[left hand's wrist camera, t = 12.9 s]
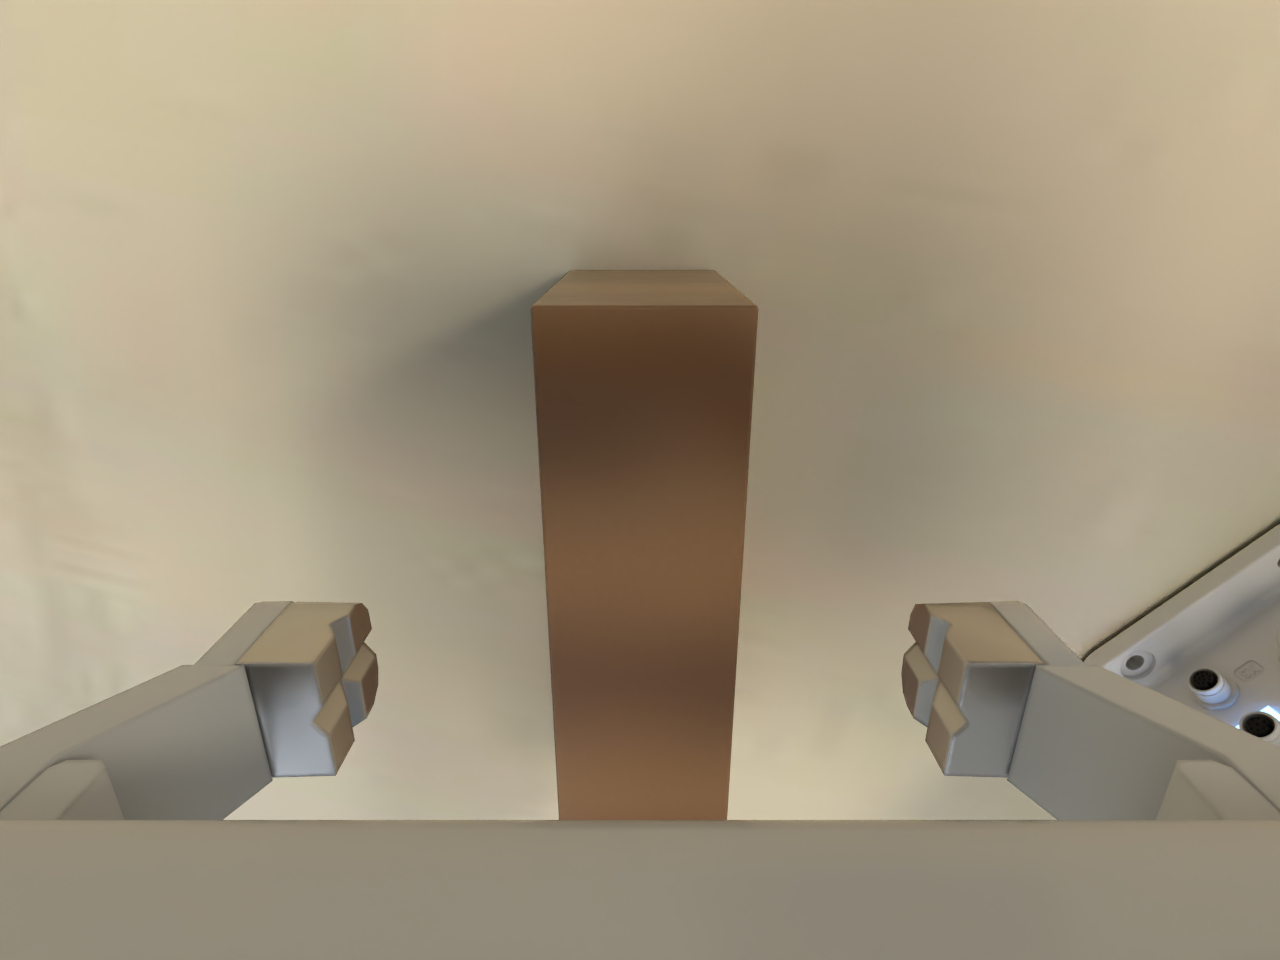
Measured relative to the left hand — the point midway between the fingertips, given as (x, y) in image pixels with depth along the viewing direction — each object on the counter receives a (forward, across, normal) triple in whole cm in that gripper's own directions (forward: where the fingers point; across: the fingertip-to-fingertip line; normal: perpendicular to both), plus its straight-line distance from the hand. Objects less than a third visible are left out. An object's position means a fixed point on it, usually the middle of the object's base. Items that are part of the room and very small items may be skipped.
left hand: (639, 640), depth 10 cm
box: (+21, 0, +8) cm, 22 cm away
